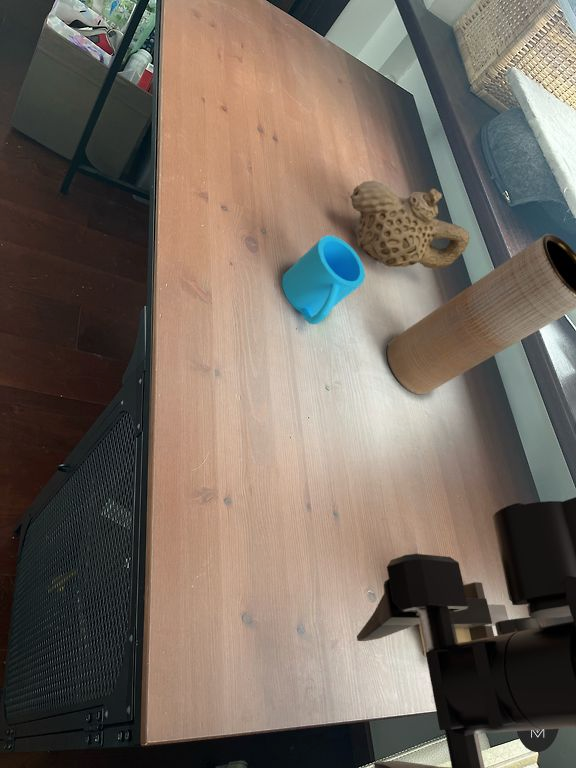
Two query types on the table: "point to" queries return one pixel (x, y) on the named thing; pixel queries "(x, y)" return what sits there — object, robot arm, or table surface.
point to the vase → (487, 316)
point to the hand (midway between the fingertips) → (369, 699)
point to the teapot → (404, 227)
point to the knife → (478, 614)
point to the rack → (469, 633)
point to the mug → (323, 278)
